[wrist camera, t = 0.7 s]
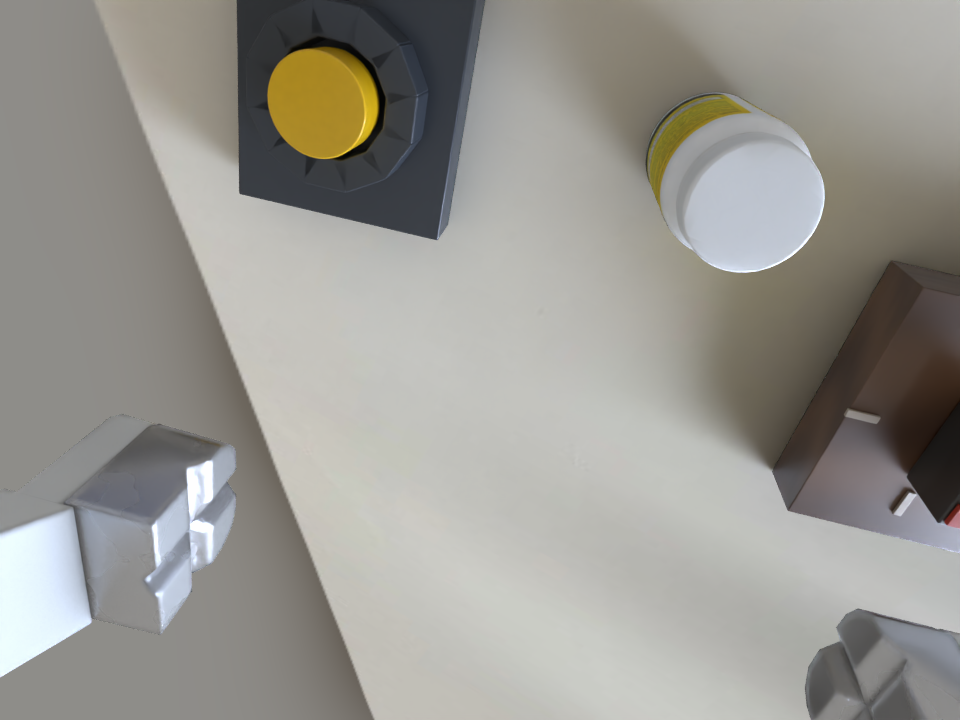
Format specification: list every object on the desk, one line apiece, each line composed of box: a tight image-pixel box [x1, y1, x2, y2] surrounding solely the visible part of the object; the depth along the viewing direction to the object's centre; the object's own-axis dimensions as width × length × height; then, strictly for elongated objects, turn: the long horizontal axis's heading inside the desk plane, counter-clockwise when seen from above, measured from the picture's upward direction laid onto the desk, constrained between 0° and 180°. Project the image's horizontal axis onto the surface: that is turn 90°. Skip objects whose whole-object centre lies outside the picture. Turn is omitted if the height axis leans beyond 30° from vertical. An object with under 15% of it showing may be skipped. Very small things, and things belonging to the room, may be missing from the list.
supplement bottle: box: [646, 93, 825, 272], centre depth 22 cm, size 5×5×8 cm
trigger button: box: [267, 47, 380, 159], centre depth 22 cm, size 4×4×2 cm
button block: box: [237, 0, 485, 240], centre depth 25 cm, size 10×9×4 cm
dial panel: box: [772, 261, 960, 553], centre depth 28 cm, size 12×9×3 cm
